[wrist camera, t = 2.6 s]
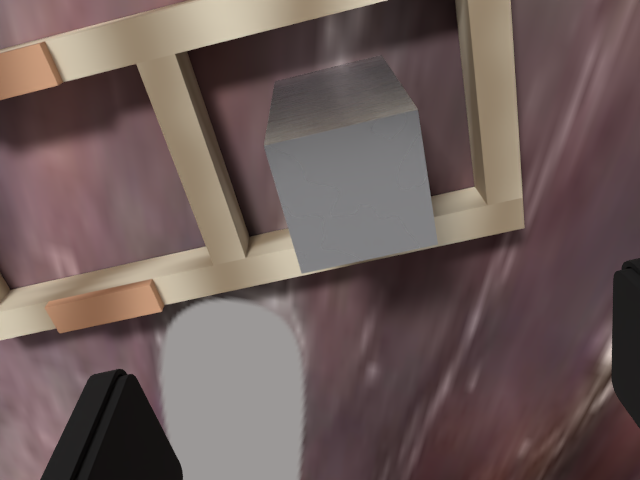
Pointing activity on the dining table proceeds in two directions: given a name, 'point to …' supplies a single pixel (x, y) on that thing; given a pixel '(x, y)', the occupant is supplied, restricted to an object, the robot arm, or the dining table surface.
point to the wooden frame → (208, 165)
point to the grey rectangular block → (349, 165)
